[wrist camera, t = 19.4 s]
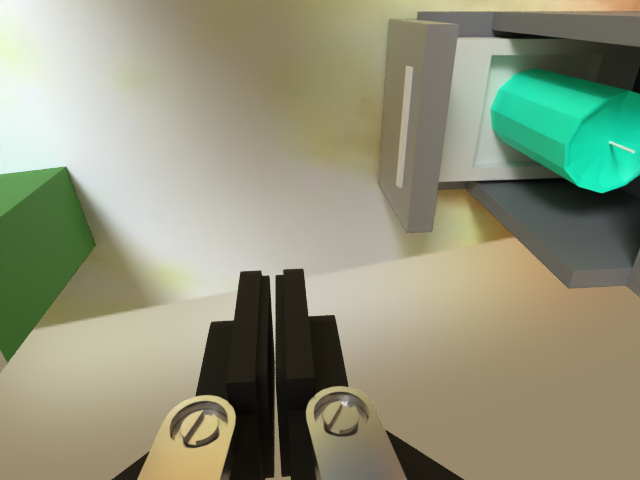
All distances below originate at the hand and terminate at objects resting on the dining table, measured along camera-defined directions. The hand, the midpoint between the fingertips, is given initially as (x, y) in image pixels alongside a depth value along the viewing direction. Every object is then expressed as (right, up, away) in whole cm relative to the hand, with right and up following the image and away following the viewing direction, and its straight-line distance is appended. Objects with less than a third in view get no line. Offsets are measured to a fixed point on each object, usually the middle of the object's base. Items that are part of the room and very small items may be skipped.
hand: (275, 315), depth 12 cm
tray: (+15, +13, +25) cm, 32 cm away
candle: (+18, +13, +23) cm, 32 cm away
